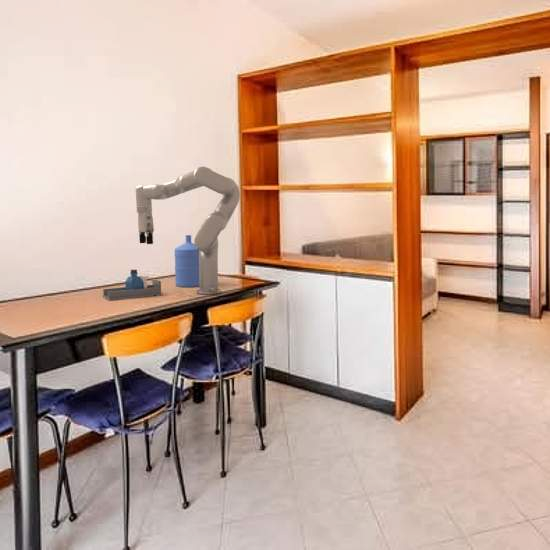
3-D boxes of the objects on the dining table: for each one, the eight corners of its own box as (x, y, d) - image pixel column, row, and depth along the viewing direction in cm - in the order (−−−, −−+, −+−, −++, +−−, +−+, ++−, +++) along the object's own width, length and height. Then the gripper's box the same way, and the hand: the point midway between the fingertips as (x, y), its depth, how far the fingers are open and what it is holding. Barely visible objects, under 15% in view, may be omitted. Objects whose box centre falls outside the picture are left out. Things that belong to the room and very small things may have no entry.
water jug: (201, 287, 283) (200, 236, 280) (172, 287, 284) (171, 236, 280) (205, 283, 299) (204, 234, 295) (178, 283, 299) (177, 234, 295)
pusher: (149, 293, 259) (148, 276, 258) (144, 293, 258) (144, 276, 257) (144, 291, 265) (144, 274, 264) (140, 291, 264) (139, 275, 263)
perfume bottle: (133, 295, 255) (132, 271, 253) (125, 294, 259) (124, 270, 257) (143, 293, 259) (142, 269, 258) (136, 292, 263) (135, 268, 262)
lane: (161, 295, 260) (161, 281, 259) (109, 300, 247) (108, 286, 246) (154, 291, 270) (153, 278, 269) (102, 296, 257) (102, 282, 256)
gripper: (157, 209, 259) (159, 243, 262) (145, 209, 273) (147, 242, 276) (143, 210, 255) (145, 244, 257) (131, 210, 269) (133, 243, 272)
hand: (146, 243), depth 267 cm, fingers open, 9 cm apart
